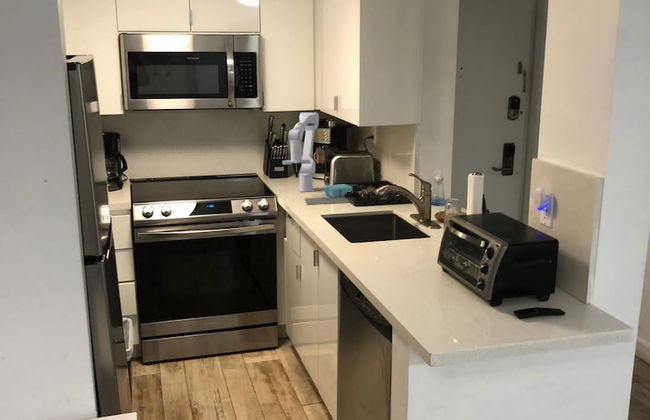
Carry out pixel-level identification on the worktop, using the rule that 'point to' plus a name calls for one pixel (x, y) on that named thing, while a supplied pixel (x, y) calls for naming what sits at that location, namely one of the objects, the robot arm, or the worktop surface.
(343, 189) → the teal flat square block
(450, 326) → the worktop surface
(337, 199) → the mat
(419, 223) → the worktop surface
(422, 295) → the worktop surface
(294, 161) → the robot arm
